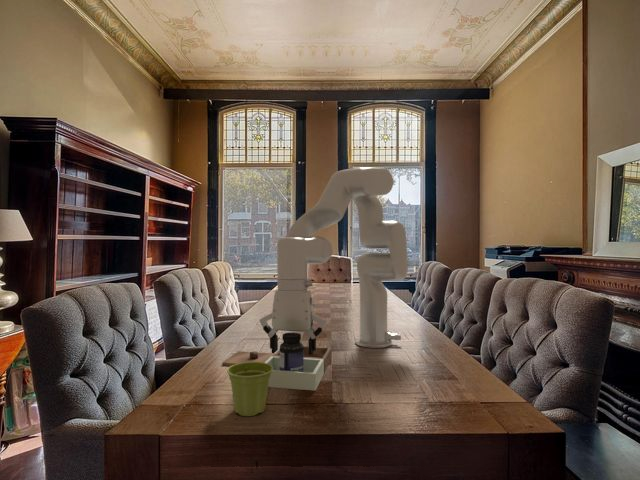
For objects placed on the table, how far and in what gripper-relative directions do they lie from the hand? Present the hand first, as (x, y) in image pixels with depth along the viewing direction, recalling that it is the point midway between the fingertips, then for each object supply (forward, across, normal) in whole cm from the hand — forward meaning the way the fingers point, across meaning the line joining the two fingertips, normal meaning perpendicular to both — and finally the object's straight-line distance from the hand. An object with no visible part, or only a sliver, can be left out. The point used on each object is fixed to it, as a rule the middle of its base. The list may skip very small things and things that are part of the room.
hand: (292, 352), depth 96 cm
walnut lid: (+7, +15, -13) cm, 21 cm away
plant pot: (+7, +4, +19) cm, 21 cm away
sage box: (+7, 0, 0) cm, 7 cm away
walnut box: (+7, 0, -13) cm, 15 cm away
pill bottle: (+7, 0, 0) cm, 7 cm away
